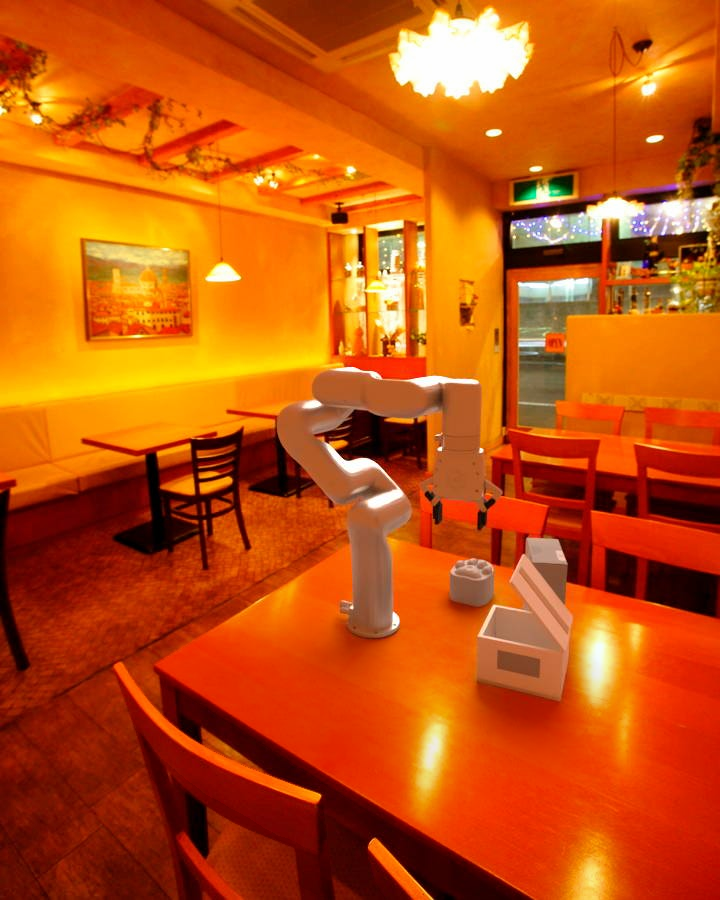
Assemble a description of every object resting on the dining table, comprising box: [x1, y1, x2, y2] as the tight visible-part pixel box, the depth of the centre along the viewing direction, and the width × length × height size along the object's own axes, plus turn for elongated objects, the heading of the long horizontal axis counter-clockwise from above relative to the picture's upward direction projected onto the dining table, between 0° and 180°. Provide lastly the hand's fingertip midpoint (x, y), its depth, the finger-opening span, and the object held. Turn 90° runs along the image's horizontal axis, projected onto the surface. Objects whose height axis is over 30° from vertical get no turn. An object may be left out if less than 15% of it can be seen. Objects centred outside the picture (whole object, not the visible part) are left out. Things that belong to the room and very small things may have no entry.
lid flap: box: [509, 553, 574, 653], centre depth 113 cm, size 16×14×1 cm
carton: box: [476, 604, 571, 702], centre depth 116 cm, size 16×14×10 cm
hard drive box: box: [522, 537, 569, 611], centre depth 131 cm, size 16×8×20 cm, turn 168°
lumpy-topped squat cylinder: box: [449, 557, 495, 608], centre depth 151 cm, size 10×13×9 cm
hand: (459, 525), depth 117 cm, fingers open, 8 cm apart
